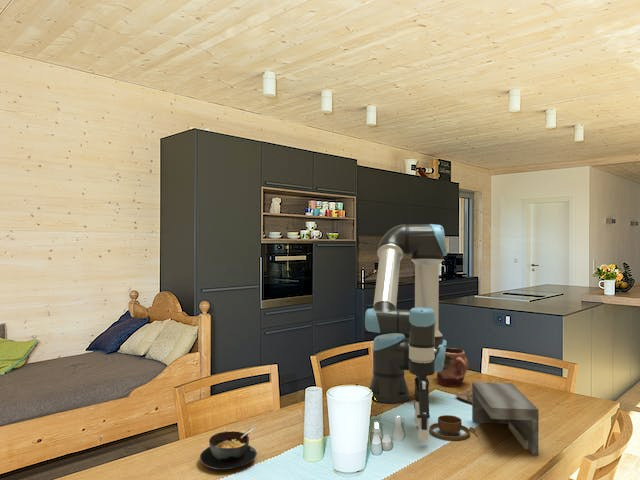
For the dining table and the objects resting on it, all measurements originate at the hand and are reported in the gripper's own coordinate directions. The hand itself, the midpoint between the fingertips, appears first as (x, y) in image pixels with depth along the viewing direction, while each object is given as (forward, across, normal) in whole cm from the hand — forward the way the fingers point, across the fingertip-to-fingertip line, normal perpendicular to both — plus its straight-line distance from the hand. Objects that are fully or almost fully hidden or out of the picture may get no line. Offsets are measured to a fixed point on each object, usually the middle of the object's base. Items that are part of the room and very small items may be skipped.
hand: (421, 431), depth 151 cm
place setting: (+2, +7, -8) cm, 11 cm away
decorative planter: (+1, +56, -18) cm, 59 cm away
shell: (+2, +31, -19) cm, 37 cm away
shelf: (+1, +1, -24) cm, 24 cm away
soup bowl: (+2, -22, +52) cm, 57 cm away
